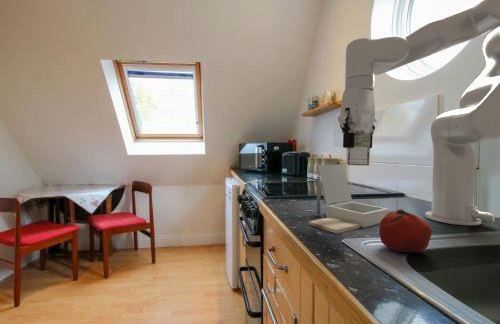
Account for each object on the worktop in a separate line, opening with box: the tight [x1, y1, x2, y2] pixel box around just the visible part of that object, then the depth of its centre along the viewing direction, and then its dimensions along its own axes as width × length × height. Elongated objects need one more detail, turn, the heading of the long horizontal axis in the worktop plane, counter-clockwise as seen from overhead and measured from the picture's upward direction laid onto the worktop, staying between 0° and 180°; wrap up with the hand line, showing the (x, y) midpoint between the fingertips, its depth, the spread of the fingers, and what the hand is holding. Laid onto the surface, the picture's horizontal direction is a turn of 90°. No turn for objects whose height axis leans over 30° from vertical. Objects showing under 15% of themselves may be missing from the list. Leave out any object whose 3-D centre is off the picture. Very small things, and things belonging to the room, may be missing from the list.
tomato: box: [378, 208, 433, 254], centre depth 50 cm, size 9×9×8 cm
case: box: [316, 176, 390, 228], centre depth 73 cm, size 15×14×12 cm
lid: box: [315, 164, 353, 205], centre depth 80 cm, size 12×12×1 cm
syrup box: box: [345, 114, 371, 166], centre depth 72 cm, size 6×6×14 cm
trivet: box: [308, 217, 360, 235], centre depth 66 cm, size 9×9×1 cm
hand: (357, 147), depth 72 cm, fingers closed on syrup box, 7 cm apart
